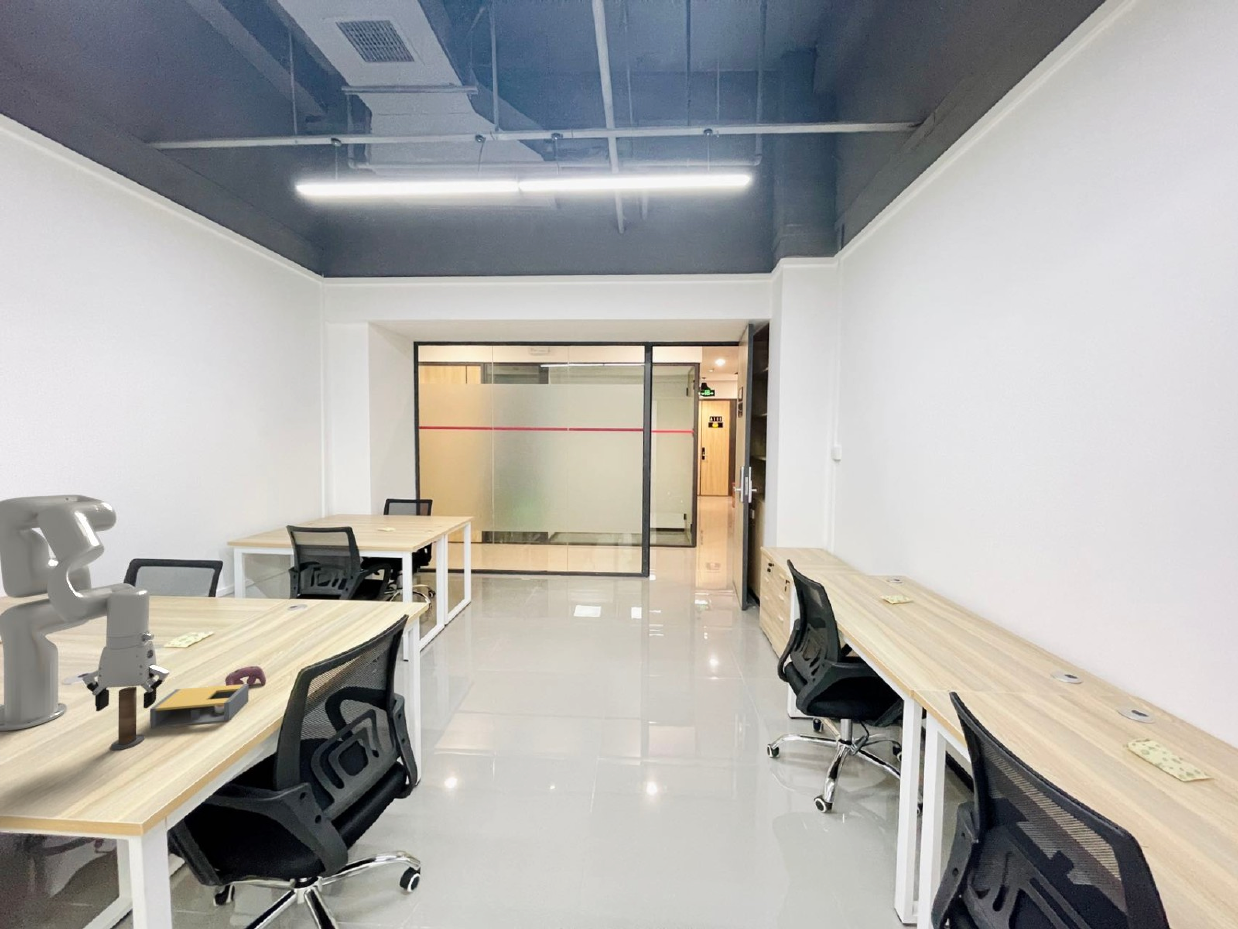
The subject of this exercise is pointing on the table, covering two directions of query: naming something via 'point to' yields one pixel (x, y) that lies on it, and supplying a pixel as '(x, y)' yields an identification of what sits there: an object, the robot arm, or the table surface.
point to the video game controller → (250, 672)
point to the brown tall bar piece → (127, 715)
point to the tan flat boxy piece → (198, 705)
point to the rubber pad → (119, 747)
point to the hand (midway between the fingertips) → (126, 707)
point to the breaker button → (219, 709)
